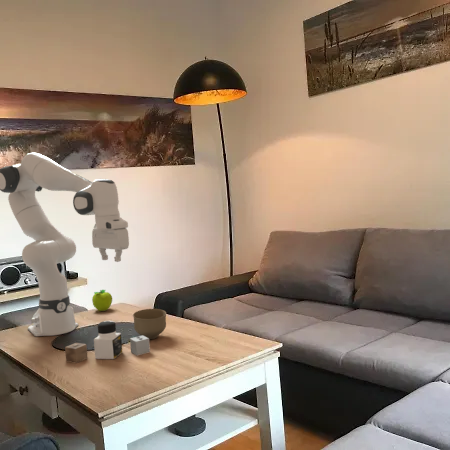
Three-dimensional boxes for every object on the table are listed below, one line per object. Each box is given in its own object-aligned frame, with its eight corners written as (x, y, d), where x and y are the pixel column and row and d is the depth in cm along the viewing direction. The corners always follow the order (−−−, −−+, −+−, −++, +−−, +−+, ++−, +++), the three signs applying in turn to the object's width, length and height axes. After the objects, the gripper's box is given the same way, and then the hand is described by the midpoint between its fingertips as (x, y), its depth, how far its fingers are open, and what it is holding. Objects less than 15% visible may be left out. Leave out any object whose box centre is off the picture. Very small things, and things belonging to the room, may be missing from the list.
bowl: (144, 345, 181) (142, 319, 180) (129, 338, 191) (127, 312, 190) (173, 337, 188) (172, 312, 187) (158, 330, 198) (156, 306, 198)
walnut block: (66, 361, 169) (65, 346, 169) (77, 356, 174) (76, 342, 173) (76, 363, 167) (75, 348, 166) (87, 358, 171) (86, 343, 171)
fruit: (89, 312, 235) (87, 292, 234) (100, 307, 244) (98, 287, 243) (106, 313, 232) (104, 292, 231) (116, 308, 241) (114, 288, 240)
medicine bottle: (114, 359, 168) (111, 325, 167) (94, 359, 169) (92, 325, 168) (122, 352, 175) (120, 319, 174) (104, 352, 176) (101, 319, 175)
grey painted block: (131, 352, 175) (129, 337, 174) (143, 348, 178) (142, 334, 177) (136, 355, 171) (135, 341, 170) (149, 352, 174) (148, 337, 173)
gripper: (86, 223, 186) (89, 260, 187) (114, 224, 171) (118, 263, 172) (101, 222, 190) (104, 257, 191) (130, 222, 175) (133, 261, 176)
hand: (111, 260), depth 181 cm, fingers open, 8 cm apart
